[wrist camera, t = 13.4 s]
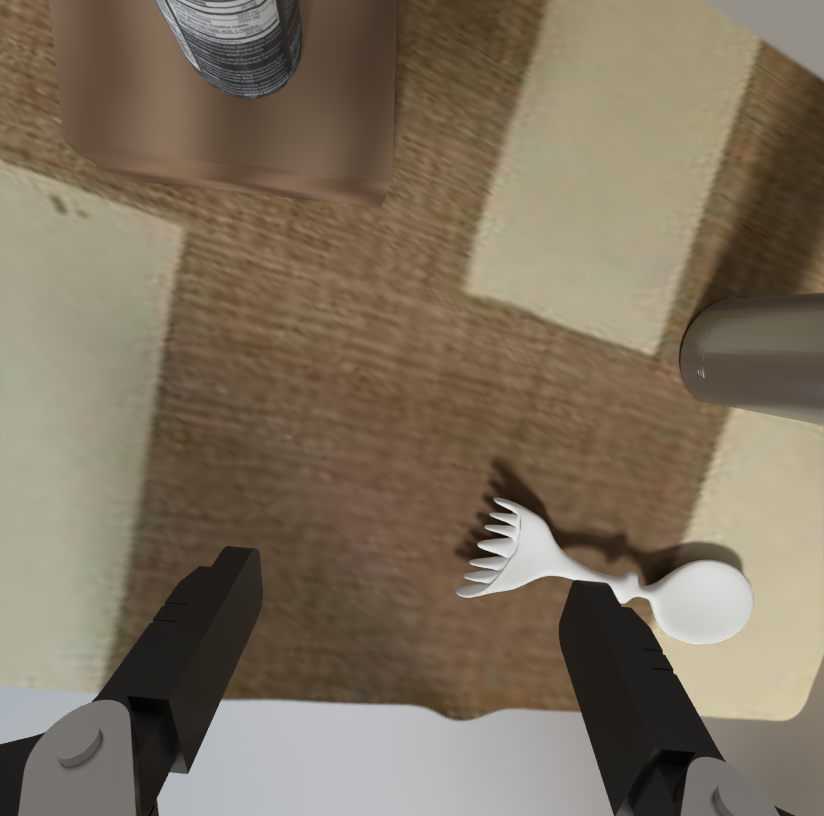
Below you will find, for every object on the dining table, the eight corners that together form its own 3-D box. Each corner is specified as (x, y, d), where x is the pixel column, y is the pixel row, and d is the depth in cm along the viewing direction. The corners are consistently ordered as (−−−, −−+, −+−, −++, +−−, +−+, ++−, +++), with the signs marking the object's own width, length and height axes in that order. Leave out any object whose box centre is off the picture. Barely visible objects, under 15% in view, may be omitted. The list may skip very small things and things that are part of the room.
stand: (385, 2, 25) (399, -74, 20) (380, 207, 28) (392, 182, 23) (93, -62, 22) (29, -171, 17) (116, 178, 24) (64, 142, 19)
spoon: (482, 481, 34) (499, 498, 30) (744, 564, 42) (780, 584, 39) (443, 576, 35) (455, 602, 31) (707, 638, 43) (739, 664, 40)
